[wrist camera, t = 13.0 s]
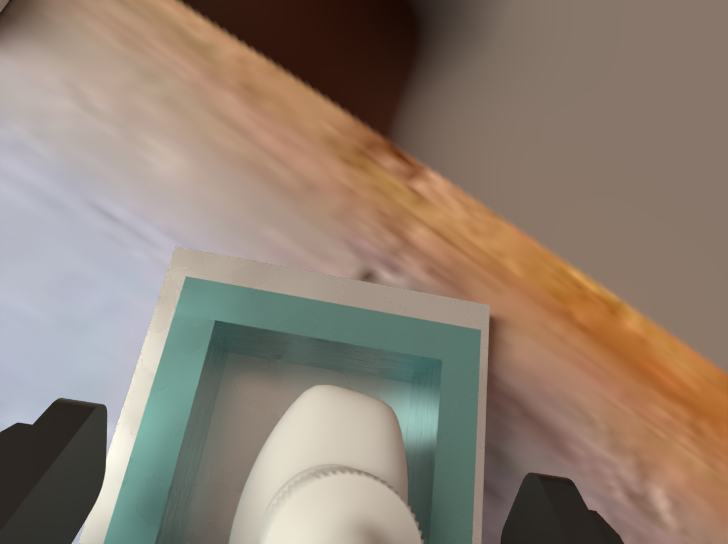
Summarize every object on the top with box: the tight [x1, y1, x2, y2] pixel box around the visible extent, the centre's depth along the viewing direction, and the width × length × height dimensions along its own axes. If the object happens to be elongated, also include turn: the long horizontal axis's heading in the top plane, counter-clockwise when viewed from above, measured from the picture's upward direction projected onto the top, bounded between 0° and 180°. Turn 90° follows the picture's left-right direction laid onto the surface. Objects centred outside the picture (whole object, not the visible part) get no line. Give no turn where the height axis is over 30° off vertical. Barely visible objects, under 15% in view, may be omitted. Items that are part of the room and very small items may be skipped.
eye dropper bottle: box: [229, 385, 424, 544], centre depth 11 cm, size 4×6×12 cm
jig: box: [79, 247, 490, 544], centre depth 16 cm, size 16×13×5 cm
